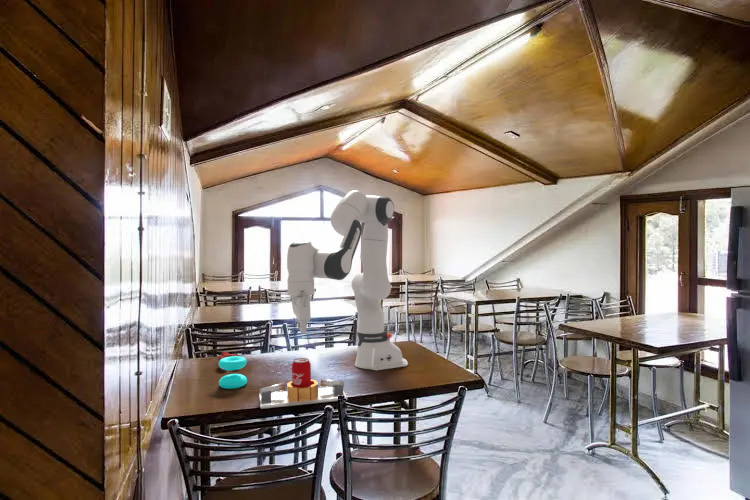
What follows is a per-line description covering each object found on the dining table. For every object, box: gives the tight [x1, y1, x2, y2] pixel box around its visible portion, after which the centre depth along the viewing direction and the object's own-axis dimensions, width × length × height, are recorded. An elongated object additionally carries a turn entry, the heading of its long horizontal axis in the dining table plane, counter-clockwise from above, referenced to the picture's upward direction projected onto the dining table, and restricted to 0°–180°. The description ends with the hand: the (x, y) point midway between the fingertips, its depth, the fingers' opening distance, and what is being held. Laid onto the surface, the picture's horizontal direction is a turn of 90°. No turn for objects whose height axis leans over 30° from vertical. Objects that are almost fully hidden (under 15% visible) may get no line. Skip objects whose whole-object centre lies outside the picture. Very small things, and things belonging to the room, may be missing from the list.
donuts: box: [217, 355, 248, 390], centre depth 174 cm, size 10×10×10 cm
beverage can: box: [291, 357, 312, 387], centre depth 159 cm, size 6×6×12 cm
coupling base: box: [258, 378, 348, 410], centre depth 159 cm, size 28×12×6 cm, turn 105°
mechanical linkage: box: [218, 351, 239, 372], centre depth 201 cm, size 16×7×5 cm, turn 29°
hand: (301, 330), depth 158 cm, fingers open, 8 cm apart
